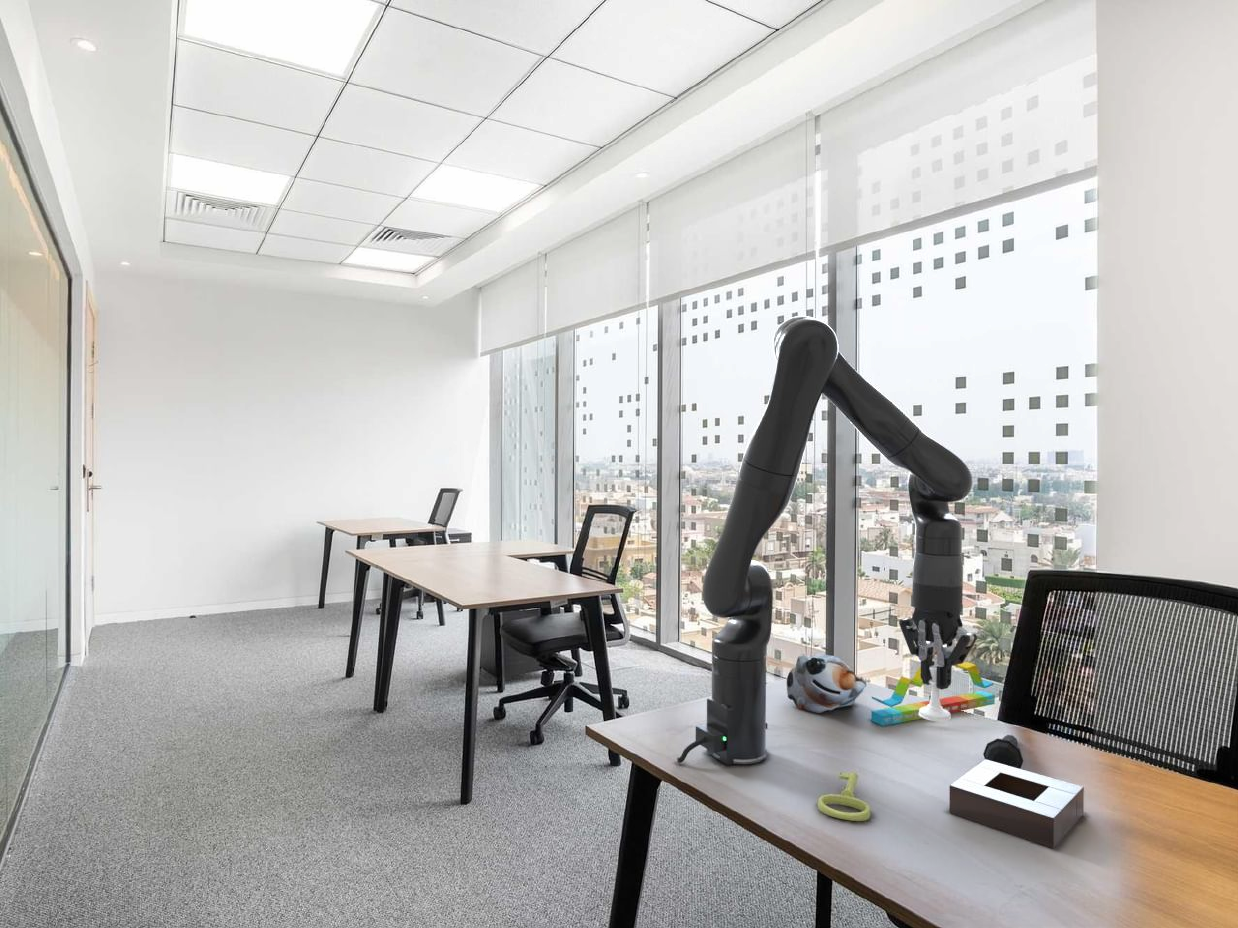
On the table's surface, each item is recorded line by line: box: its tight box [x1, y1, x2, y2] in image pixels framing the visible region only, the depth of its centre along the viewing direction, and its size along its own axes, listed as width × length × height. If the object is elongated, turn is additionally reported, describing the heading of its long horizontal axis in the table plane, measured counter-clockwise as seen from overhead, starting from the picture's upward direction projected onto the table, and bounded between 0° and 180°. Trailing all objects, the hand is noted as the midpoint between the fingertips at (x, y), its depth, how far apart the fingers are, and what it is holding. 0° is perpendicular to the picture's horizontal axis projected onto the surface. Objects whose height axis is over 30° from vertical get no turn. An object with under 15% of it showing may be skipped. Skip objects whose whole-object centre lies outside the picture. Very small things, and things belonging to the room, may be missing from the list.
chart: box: [870, 644, 996, 727], centre depth 149 cm, size 30×3×15 cm, turn 114°
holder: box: [948, 758, 1085, 849], centre depth 107 cm, size 14×14×4 cm
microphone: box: [982, 734, 1024, 769], centre depth 126 cm, size 6×6×20 cm
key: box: [817, 771, 872, 822], centre depth 110 cm, size 7×12×2 cm, turn 172°
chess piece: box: [919, 655, 952, 723], centre depth 121 cm, size 5×5×10 cm
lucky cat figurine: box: [786, 653, 867, 714], centre depth 151 cm, size 15×12×14 cm
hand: (935, 685), depth 121 cm, fingers closed on chess piece
